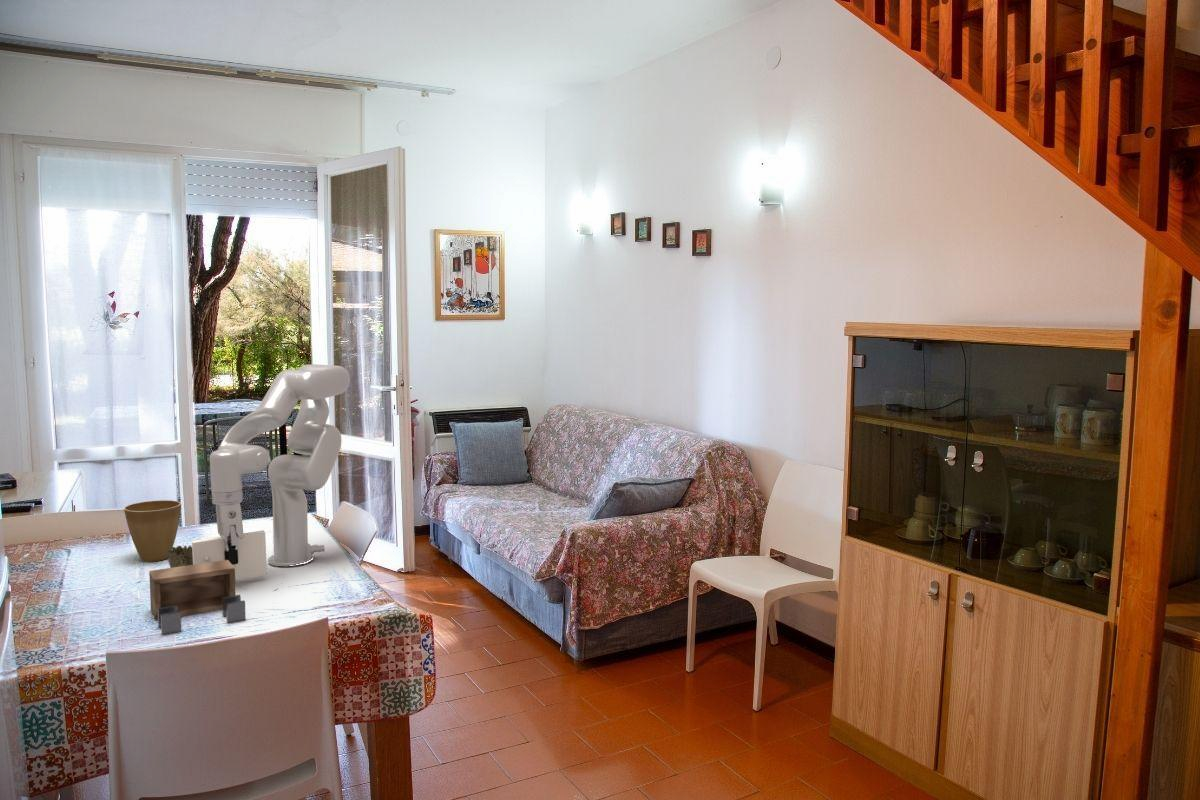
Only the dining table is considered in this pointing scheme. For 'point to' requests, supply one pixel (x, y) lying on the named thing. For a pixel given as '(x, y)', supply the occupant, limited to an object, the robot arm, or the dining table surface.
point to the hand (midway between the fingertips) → (230, 562)
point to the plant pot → (153, 527)
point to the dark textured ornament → (180, 556)
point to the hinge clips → (172, 617)
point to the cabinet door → (248, 553)
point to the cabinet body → (192, 587)
